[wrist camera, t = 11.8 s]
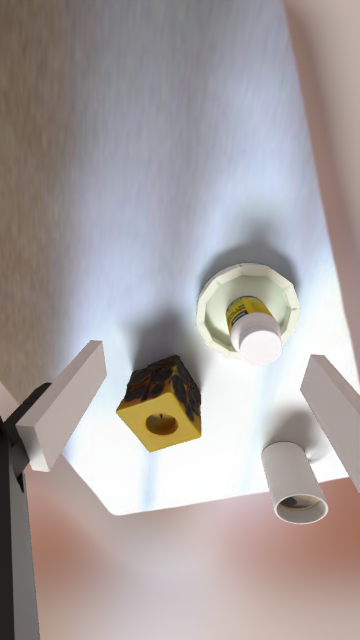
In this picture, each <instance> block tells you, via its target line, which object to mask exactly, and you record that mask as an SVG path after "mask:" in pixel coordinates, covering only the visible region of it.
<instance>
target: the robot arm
mask: <svg viewBox="0 0 360 640" xmlns="http://www.w3.org/2000/svg"><path fill="white" fill-rule="evenodd" d="M106 376H107V373H106V366H105V358H104V351H103V344H102V341H94V340H90V342H89V343H88V344H87V345H86V346H85V347H84V348H83V349H82V351H81V352H80V353H79V354H78V355H77V356H76V357H75V358H74V360H73V361H72V362H71V363H70V364H69V365H68V366H67V367H66V369H65V370H64V371H63V372H62V373H61V374H60V375H59V376H58V377H57V379H56V380H55V381H54V382H53V383H44V384H43V385H41V386H40V387H38V388H36V389H35V390H34V391H33V392H32V393H31V395H30V396H29V397H28V398H27V399H26V400H25V401H24V402H23V404H21V405H20V406H19V407H18V408H17V409H16V410H15V411H14V412H13V413H12V414H11V416H9V418H8V419H7V420H6V421H5V422H4V423H3V421H2V419H1V416H0V640H40V634H39V623H38V612H37V601H36V590H35V579H34V569H33V557H32V546H31V535H30V525H29V514H28V503H27V492H26V482H25V474H24V471H23V470H24V468H25V467H26V466H27V464H28V463H29V462H30V464H31V467H32V470H37V471H46V472H49V471H50V470H51V468H52V466H53V465H54V463H55V462H56V460H57V458H58V457H59V455H60V453H61V452H62V450H63V448H64V447H65V445H66V443H67V441H68V440H69V438H70V436H71V435H72V433H73V431H74V430H75V428H76V426H77V425H78V423H79V421H80V420H81V418H82V416H83V415H84V413H85V411H86V409H87V408H88V406H89V404H90V403H91V401H92V399H93V398H94V396H95V394H96V393H97V391H98V389H99V388H100V386H101V384H102V382H103V381H104V379H105V377H106ZM300 391H301V392H302V394H303V396H304V398H305V399H306V401H307V403H308V405H309V406H310V408H311V410H312V412H313V413H314V415H315V417H316V419H317V420H318V422H319V424H320V426H321V427H322V429H323V431H324V433H325V434H326V436H327V438H328V440H329V441H330V443H331V445H332V447H333V448H334V450H335V452H336V453H337V455H338V457H339V459H340V460H341V462H342V464H343V466H344V467H345V469H346V471H347V473H348V474H349V476H350V478H351V480H352V481H353V483H354V485H355V487H356V488H357V490H358V492H359V494H360V395H359V394H358V393H357V392H356V391H355V390H354V389H353V387H352V386H351V385H350V384H349V383H348V382H347V381H346V380H345V378H344V377H343V376H342V375H341V374H340V373H339V372H338V371H337V369H336V368H335V367H334V366H333V365H332V364H331V363H330V362H329V360H328V359H327V358H326V357H325V356H324V355H311V356H310V359H309V362H308V366H307V369H306V372H305V375H304V378H303V382H302V385H301V388H300Z"/></svg>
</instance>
